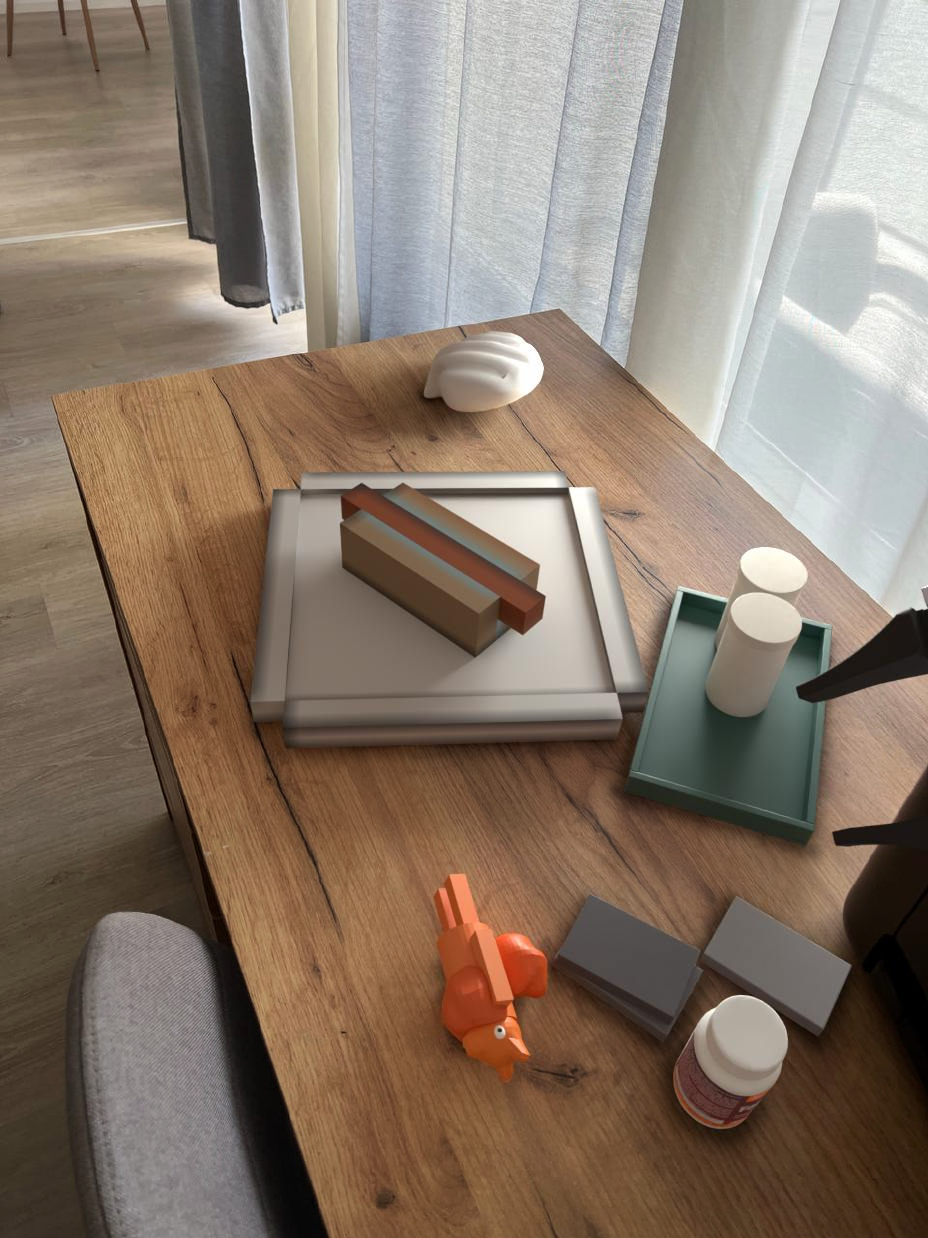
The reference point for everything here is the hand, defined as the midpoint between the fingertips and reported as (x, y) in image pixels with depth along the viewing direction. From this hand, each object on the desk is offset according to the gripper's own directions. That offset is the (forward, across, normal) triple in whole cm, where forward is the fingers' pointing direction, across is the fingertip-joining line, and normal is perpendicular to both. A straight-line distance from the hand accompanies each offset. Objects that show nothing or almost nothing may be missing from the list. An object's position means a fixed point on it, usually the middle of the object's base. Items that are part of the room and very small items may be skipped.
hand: (821, 765), depth 50 cm
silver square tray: (+32, -22, +9) cm, 40 cm away
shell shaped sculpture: (+35, -51, +24) cm, 66 cm away
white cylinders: (+12, -13, +23) cm, 29 cm away
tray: (+13, -9, +21) cm, 26 cm away
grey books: (+14, +9, +9) cm, 19 cm away
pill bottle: (+13, +16, +6) cm, 21 cm away
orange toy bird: (+24, +9, -1) cm, 25 cm away
